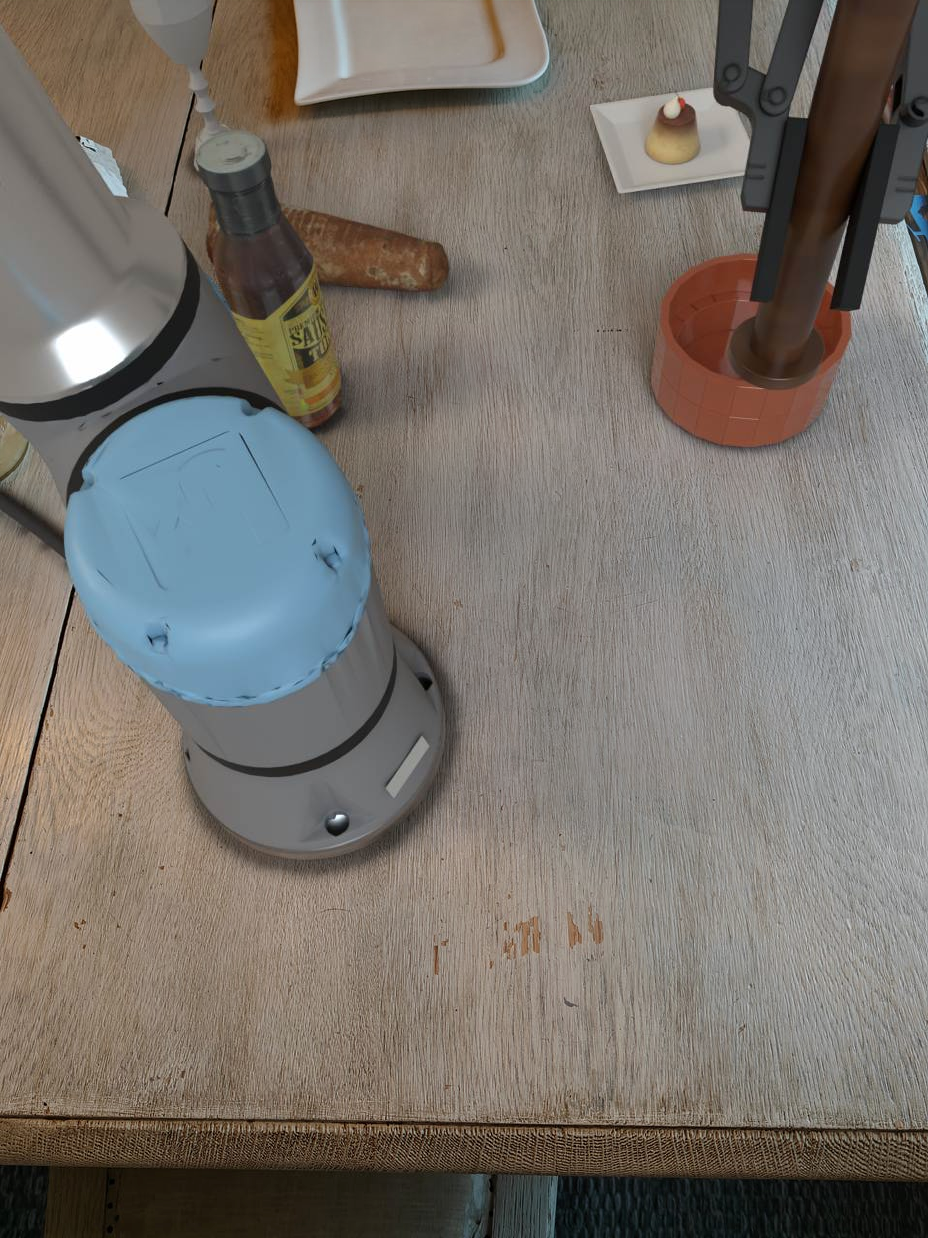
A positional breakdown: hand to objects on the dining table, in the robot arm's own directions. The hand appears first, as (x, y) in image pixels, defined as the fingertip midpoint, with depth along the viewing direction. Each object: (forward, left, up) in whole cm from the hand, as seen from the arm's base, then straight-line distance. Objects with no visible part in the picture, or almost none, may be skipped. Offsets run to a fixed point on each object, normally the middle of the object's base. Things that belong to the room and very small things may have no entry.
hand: (802, 303), depth 39 cm
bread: (-37, +16, -24) cm, 48 cm away
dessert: (-18, +41, -24) cm, 51 cm away
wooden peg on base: (-1, +4, -7) cm, 8 cm away
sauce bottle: (-32, +4, -24) cm, 41 cm away
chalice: (-54, +25, -24) cm, 65 cm away
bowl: (-4, +18, -24) cm, 30 cm away
